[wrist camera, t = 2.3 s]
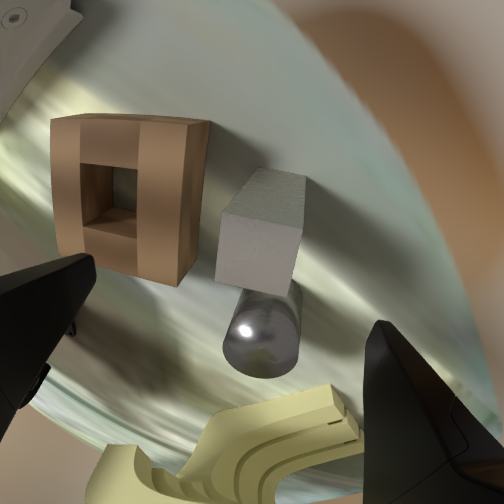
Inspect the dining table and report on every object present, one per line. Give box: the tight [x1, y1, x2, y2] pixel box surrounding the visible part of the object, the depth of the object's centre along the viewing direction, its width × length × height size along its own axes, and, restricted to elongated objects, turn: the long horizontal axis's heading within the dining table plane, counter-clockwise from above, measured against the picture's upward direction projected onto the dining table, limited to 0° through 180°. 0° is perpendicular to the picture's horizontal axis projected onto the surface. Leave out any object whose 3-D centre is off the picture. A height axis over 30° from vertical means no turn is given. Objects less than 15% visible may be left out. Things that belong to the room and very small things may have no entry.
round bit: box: [223, 279, 303, 379], centre depth 21 cm, size 5×5×6 cm
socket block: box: [50, 113, 210, 287], centre depth 20 cm, size 10×10×4 cm
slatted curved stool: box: [85, 383, 364, 504], centre depth 24 cm, size 30×16×18 cm, turn 32°
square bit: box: [215, 167, 306, 297], centre depth 16 cm, size 3×3×9 cm
